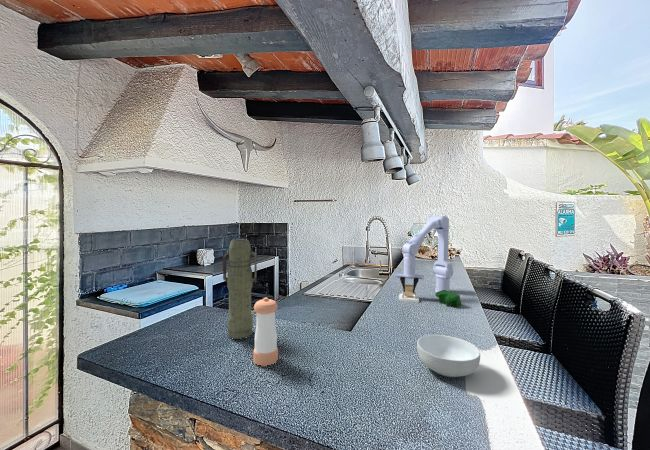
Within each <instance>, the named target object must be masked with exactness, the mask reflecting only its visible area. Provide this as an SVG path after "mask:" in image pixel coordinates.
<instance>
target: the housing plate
mask: <svg viewBox="0 0 650 450" xmlns="http://www.w3.org/2000/svg"><path fill="white" fill-rule="evenodd" d="M398 302H406V303H407V302H409V303H420V295H419V294H417V292H416V291H414V293H413V296H405V292H404V290H402V291H401V293H399V295H398Z"/></svg>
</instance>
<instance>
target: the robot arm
mask: <svg viewBox="0 0 650 450" xmlns="http://www.w3.org/2000/svg"><path fill="white" fill-rule="evenodd" d="M425 221H426V223H425V224H424V226H423V227H422V228H421V229H420V231H419V232H417V233H414V234H413V236H412V238H411V237H410V239H409V241H408V242H406V243H404V244H403V245H402V247H401V252H402V256H403V273H395V274H394V278H395V279H399V281H400V282H401V286H402V289H403V290H402V291H404V293H405V284H406V279H413V284H412V285H413V294H414V292H416V291H415V290H416V287H417V284H418V283H419V280H425V275H424V274H417V273H416V255H417V254H418V252H419V249H420V246H421V245H422V244H423V243H424V242H425V239H426V238H425V237H426V236H427V235H428V234H429V233H430V232H431V231H432V230H433V229H434V230H435V231H436V232H437V234H438V235H437V236H438V237H437V260H436V261H435V262H434V263H433V268H432V273H433V274H434V277H435V288H434V293H436V292H439V291H442V290H446V291H449V292H451V291H450V282H451V281H450V280H451V278H452V277H453V275H454V269H453V264H452V262H451V261H449V231H450V219H449V218H448V217H447V216H446V215H430V216H428V218H427V219H426V220H425Z"/></svg>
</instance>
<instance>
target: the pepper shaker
mask: <svg viewBox="0 0 650 450" xmlns="http://www.w3.org/2000/svg"><path fill="white" fill-rule="evenodd" d="M278 307H279V306H278V303H277V301H276V300H273V299H271V298H270V299H269V298H268V297H263V298H262V299H259V300H257V301H256V302H255V304H254V306H253V309H254V311H255V313H256V322H255V323H256V327H255V333H254V349H253V354H252V355H253V363H255V364H257V365H256V366H258V365H261V366H260V367H267V366H266V365H270V366H272V365H271V364H273V363H275V362H276V361H277V360H278V361H279V347H278V335H277V328H276V311H277V309H278ZM278 361H277V362H278ZM277 362H276V363H277ZM276 363H275V364H276ZM255 364H254V365H255ZM273 365H274V364H273Z"/></svg>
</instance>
